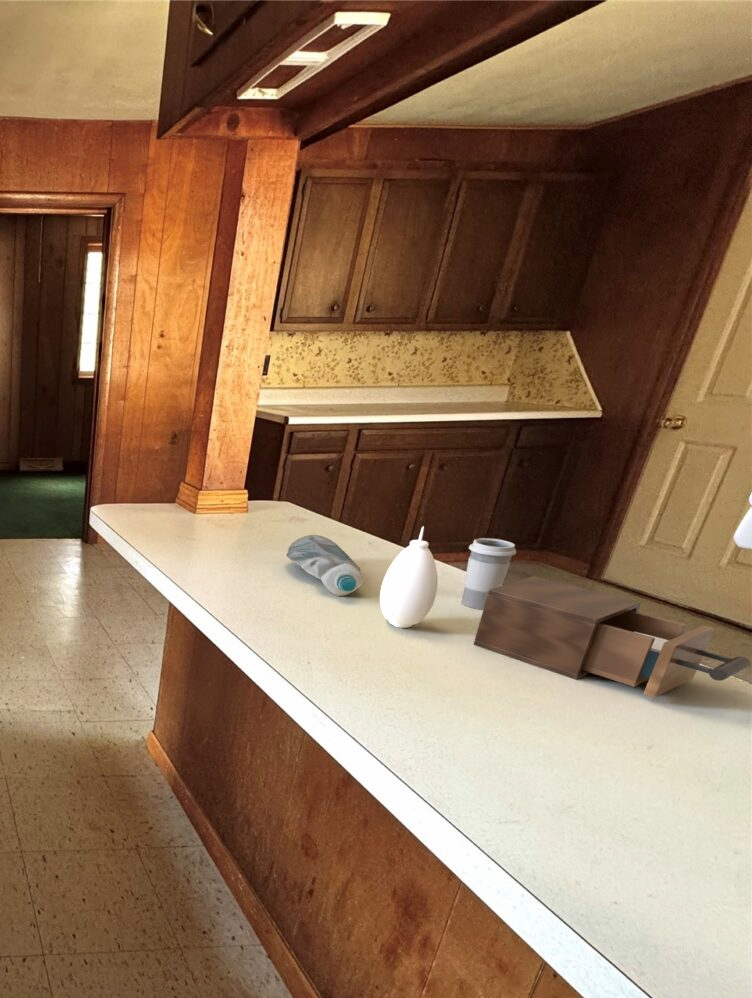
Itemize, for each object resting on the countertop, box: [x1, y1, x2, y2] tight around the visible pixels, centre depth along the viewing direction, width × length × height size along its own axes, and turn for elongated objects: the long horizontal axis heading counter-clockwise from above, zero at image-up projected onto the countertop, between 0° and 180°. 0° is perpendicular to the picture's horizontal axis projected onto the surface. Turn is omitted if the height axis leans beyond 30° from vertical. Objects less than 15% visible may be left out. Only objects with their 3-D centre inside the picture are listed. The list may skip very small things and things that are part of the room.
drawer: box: [582, 610, 751, 698], centre depth 93 cm, size 17×11×8 cm, turn 26°
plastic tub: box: [635, 632, 669, 678], centre depth 93 cm, size 5×5×4 cm
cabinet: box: [473, 575, 642, 680], centre depth 102 cm, size 14×13×10 cm
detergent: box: [286, 534, 365, 597], centre depth 135 cm, size 13×7×25 cm
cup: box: [461, 537, 517, 610], centre depth 120 cm, size 7×7×12 cm
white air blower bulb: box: [379, 525, 439, 629], centre depth 112 cm, size 8×8×18 cm
